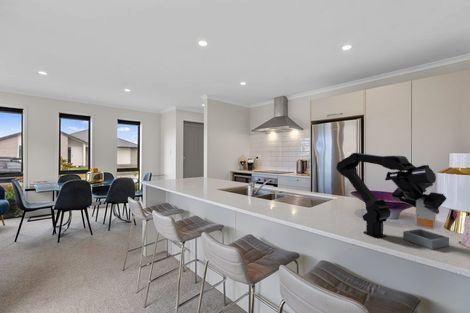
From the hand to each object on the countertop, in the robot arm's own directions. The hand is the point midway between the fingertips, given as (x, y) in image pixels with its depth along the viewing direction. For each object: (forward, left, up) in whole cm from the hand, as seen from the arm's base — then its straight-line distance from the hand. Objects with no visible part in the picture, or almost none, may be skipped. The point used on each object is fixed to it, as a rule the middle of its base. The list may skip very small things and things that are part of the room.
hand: (428, 210), depth 90 cm
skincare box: (-2, 0, -7) cm, 7 cm away
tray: (-1, 0, -13) cm, 13 cm away
